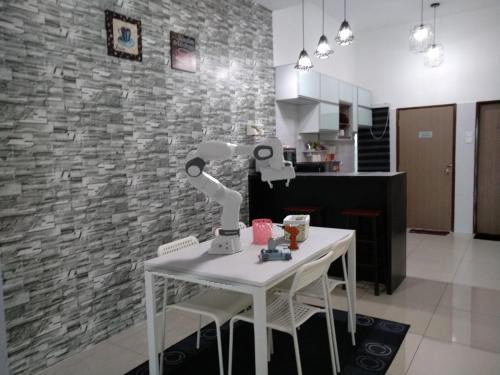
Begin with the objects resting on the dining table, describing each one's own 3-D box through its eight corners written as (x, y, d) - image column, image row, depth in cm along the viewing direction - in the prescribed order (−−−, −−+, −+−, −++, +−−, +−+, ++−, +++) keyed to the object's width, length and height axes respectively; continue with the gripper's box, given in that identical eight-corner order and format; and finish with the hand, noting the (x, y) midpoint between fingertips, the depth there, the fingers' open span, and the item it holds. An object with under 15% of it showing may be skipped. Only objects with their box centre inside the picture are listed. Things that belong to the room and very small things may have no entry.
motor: (268, 256, 223) (267, 237, 222) (267, 254, 228) (267, 236, 227) (276, 256, 223) (276, 237, 222) (275, 254, 228) (275, 235, 227)
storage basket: (288, 234, 287) (288, 214, 286) (310, 234, 283) (310, 214, 282) (282, 241, 264) (282, 220, 263) (306, 242, 260) (306, 220, 259)
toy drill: (278, 242, 256) (279, 220, 253) (300, 250, 242) (302, 227, 240) (273, 243, 252) (274, 221, 250) (295, 251, 239) (297, 228, 236)
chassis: (261, 261, 218) (260, 255, 218) (259, 254, 232) (259, 248, 232) (292, 259, 219) (292, 253, 218) (289, 253, 233) (289, 247, 232)
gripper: (259, 166, 226) (261, 189, 229) (294, 163, 225) (296, 186, 227) (259, 165, 233) (262, 187, 235) (293, 161, 231) (295, 184, 234)
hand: (279, 186), depth 231 cm, fingers open, 8 cm apart
